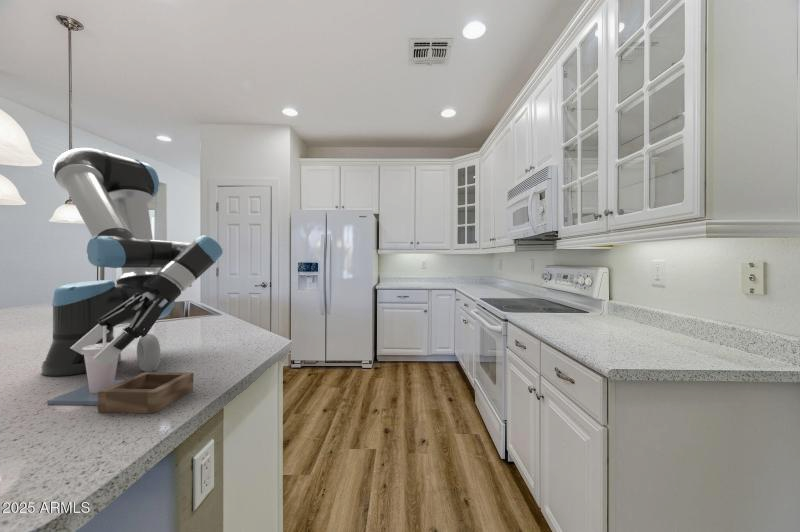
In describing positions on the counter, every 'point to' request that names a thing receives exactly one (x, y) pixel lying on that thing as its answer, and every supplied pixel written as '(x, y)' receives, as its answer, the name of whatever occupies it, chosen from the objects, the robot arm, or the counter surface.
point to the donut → (148, 353)
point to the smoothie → (99, 367)
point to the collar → (145, 392)
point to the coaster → (77, 397)
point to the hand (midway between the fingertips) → (87, 356)
